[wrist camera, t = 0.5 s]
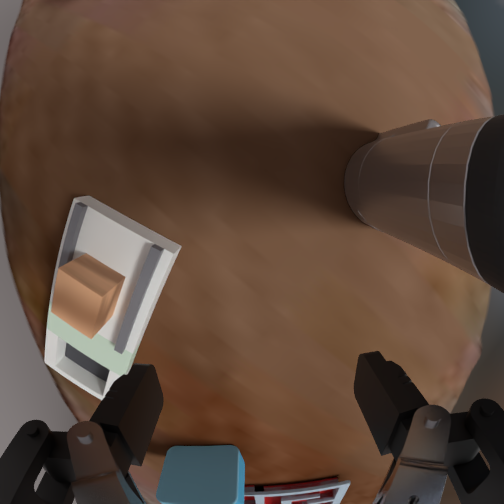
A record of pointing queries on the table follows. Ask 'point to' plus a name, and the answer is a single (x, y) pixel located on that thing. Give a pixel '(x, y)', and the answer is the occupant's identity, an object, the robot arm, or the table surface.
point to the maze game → (299, 493)
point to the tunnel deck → (129, 302)
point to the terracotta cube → (86, 294)
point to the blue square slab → (202, 475)
